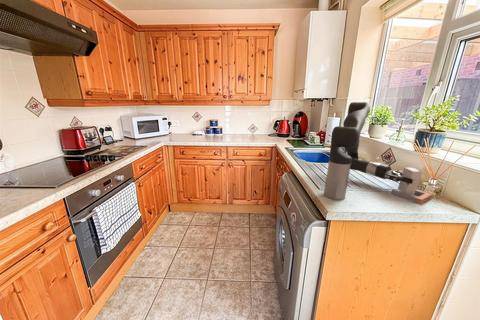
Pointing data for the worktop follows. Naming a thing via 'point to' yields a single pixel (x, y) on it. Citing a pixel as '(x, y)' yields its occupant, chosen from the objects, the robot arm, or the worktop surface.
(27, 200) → the worktop surface
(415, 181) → the skincare box
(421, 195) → the channel
